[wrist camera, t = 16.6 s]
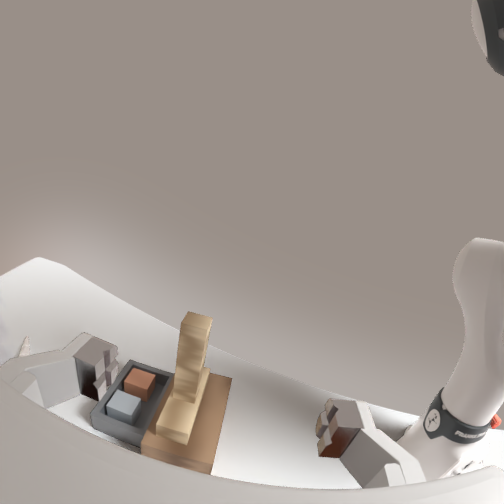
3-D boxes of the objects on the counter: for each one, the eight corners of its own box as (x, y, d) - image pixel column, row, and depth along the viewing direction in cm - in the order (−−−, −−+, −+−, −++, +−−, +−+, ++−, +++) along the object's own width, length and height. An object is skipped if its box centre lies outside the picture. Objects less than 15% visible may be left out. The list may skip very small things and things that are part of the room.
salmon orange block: (133, 367, 44) (133, 380, 44) (124, 381, 40) (124, 394, 40) (155, 375, 44) (154, 387, 44) (147, 389, 40) (146, 402, 40)
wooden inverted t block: (208, 380, 43) (224, 300, 39) (186, 445, 30) (200, 358, 26) (183, 373, 43) (195, 293, 40) (155, 435, 30) (160, 347, 26)
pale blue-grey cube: (117, 389, 38) (118, 402, 38) (106, 405, 34) (108, 418, 34) (141, 398, 37) (141, 411, 38) (131, 415, 34) (132, 427, 34)
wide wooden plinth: (225, 402, 47) (232, 378, 45) (207, 484, 29) (213, 464, 28) (176, 389, 47) (179, 364, 45) (142, 465, 29) (140, 442, 28)
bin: (175, 389, 47) (176, 374, 46) (147, 450, 32) (147, 437, 31) (130, 373, 47) (130, 359, 46) (93, 428, 32) (90, 413, 31)
